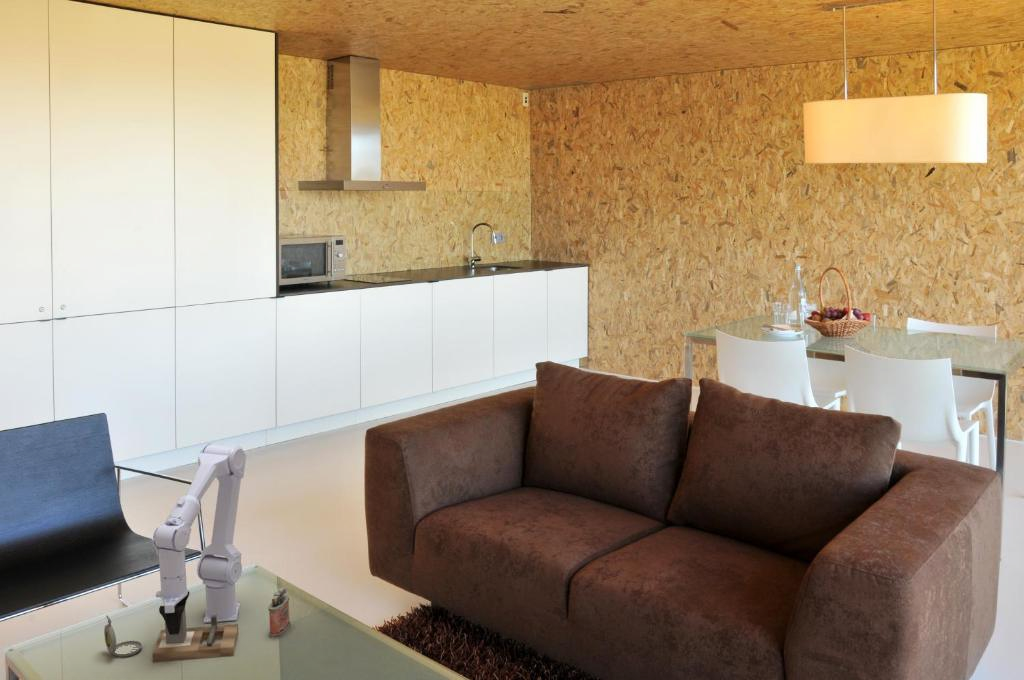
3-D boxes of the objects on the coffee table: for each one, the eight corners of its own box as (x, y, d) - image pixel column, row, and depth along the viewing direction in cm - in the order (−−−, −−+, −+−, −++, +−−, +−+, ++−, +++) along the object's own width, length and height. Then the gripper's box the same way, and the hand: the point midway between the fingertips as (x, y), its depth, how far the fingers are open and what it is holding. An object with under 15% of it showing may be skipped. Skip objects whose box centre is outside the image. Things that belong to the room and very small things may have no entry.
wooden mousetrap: (161, 637, 232) (160, 618, 232) (238, 631, 236) (237, 612, 235) (152, 661, 221) (151, 641, 220) (233, 655, 224) (232, 635, 223)
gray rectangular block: (186, 634, 229) (185, 607, 228) (184, 642, 225) (182, 614, 224) (169, 636, 229) (167, 608, 228) (166, 643, 225) (164, 615, 224)
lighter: (279, 638, 232) (277, 599, 231) (266, 637, 233) (264, 598, 231) (293, 623, 240) (291, 586, 238) (280, 622, 241) (279, 584, 239)
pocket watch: (148, 647, 228) (145, 607, 226) (123, 663, 220) (120, 622, 218) (120, 641, 230) (117, 602, 229) (94, 657, 223) (91, 617, 221)
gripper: (160, 563, 231) (163, 616, 233) (149, 588, 217) (152, 644, 219) (191, 561, 232) (193, 614, 234) (182, 585, 218) (185, 641, 220)
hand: (176, 628), depth 227 cm, fingers open, 5 cm apart
